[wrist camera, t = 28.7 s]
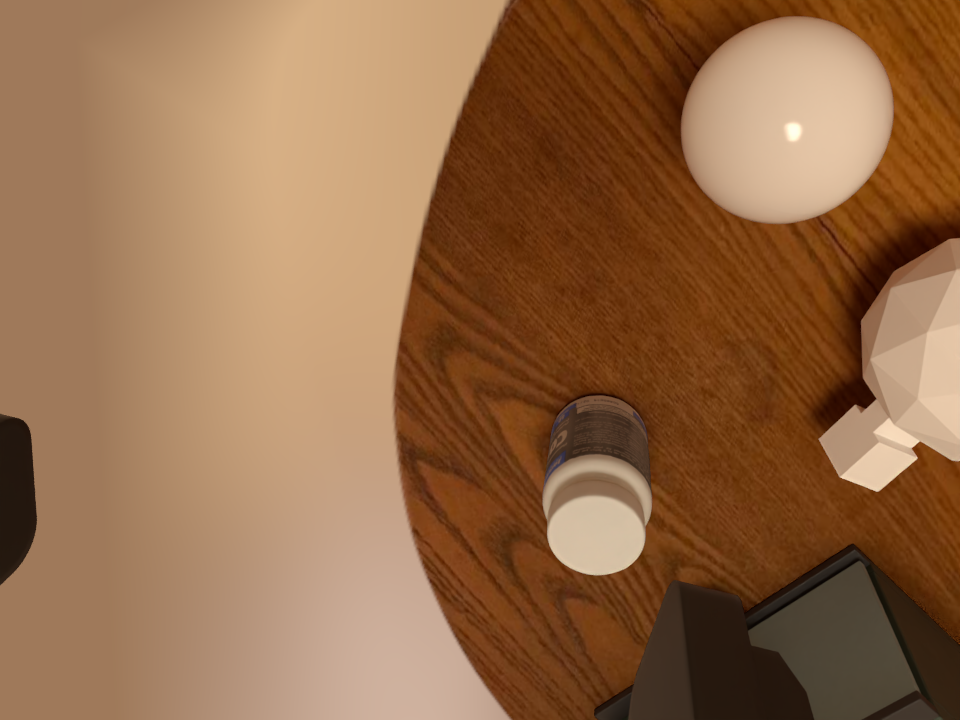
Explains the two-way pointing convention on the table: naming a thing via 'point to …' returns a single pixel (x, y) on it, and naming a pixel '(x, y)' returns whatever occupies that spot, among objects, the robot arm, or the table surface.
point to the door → (840, 647)
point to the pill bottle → (597, 485)
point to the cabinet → (926, 646)
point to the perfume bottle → (906, 373)
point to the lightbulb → (787, 119)
